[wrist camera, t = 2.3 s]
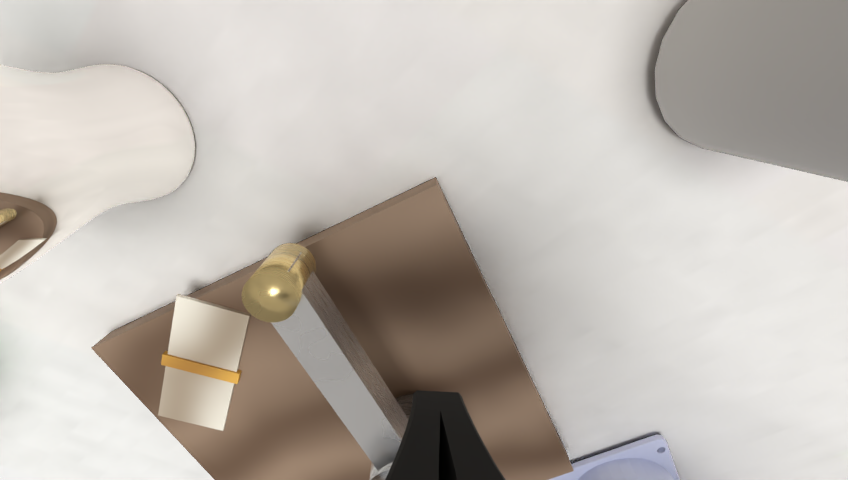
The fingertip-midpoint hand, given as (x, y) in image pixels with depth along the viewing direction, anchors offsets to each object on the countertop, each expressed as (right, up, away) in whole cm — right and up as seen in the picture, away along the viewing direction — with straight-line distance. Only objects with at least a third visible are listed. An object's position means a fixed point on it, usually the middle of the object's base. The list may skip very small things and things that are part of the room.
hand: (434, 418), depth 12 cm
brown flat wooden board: (-4, -4, +13) cm, 14 cm away
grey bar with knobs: (-3, -1, +10) cm, 10 cm away
